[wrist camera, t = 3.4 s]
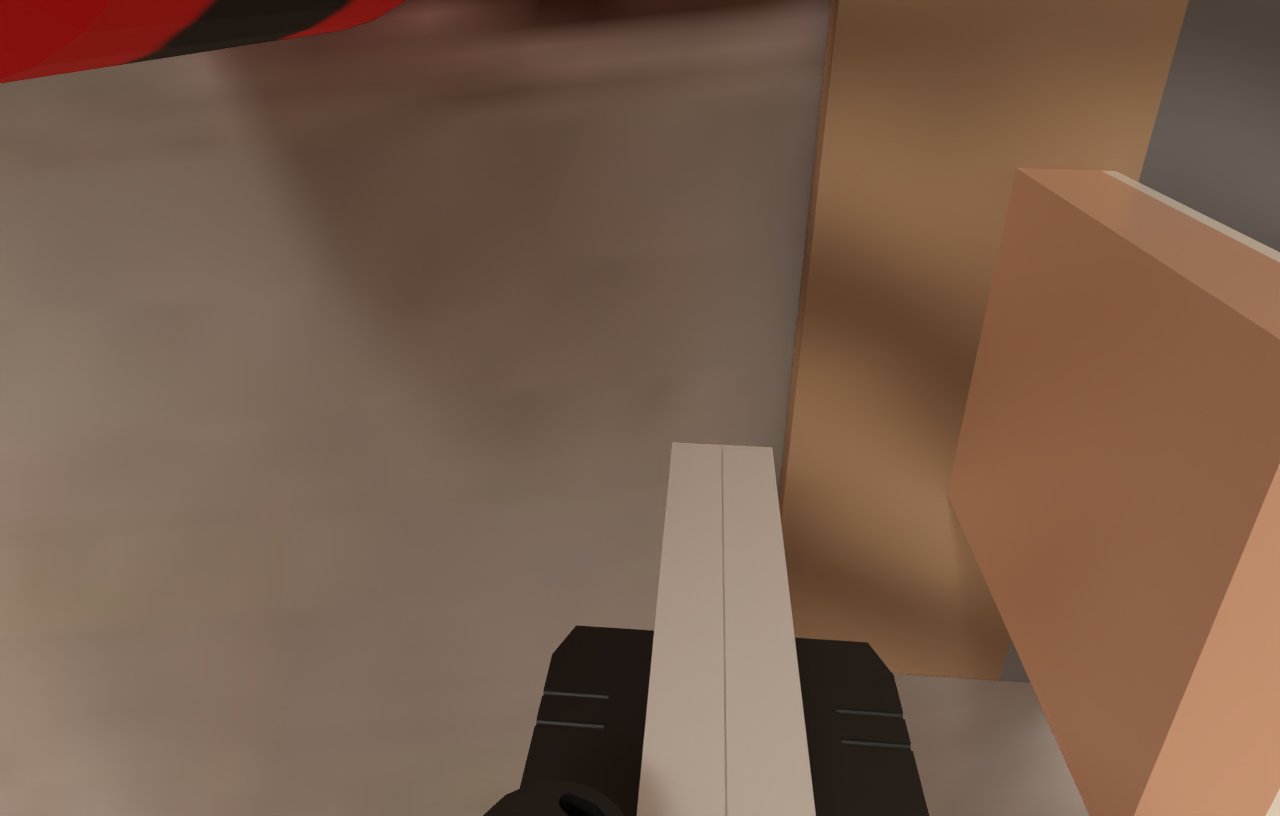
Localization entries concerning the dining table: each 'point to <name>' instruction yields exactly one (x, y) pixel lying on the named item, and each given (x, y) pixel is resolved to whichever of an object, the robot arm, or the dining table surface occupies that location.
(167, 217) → the dining table surface
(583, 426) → the dining table surface
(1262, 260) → the tile
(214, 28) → the soda can
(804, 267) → the board
